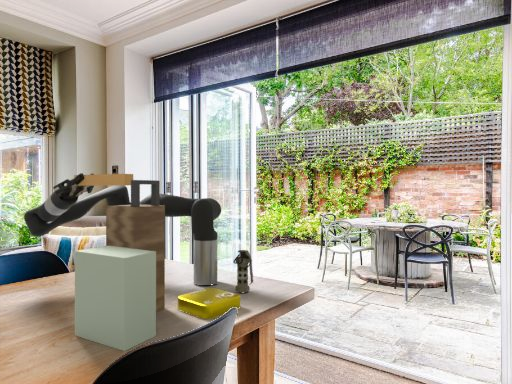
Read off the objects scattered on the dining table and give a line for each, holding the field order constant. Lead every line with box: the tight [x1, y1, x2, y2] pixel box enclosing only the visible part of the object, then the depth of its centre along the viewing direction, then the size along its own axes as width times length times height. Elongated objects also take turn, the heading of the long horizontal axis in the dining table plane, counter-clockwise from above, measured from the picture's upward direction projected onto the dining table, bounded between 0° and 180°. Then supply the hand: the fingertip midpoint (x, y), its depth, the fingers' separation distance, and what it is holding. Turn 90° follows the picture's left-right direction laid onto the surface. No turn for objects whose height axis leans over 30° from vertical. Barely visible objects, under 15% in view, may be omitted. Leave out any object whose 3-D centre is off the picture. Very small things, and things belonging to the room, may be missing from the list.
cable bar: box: [73, 173, 134, 187], centre depth 119 cm, size 24×4×4 cm, turn 61°
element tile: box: [177, 286, 241, 320], centre depth 115 cm, size 15×15×5 cm
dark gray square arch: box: [130, 179, 161, 207], centre depth 110 cm, size 2×10×8 cm, turn 151°
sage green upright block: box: [74, 245, 157, 352], centre depth 94 cm, size 18×10×22 cm, turn 61°
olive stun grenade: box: [233, 249, 254, 293], centre depth 132 cm, size 6×7×15 cm
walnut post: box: [105, 204, 166, 312], centre depth 112 cm, size 12×12×32 cm
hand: (88, 175), depth 123 cm, fingers closed on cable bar, 3 cm apart
